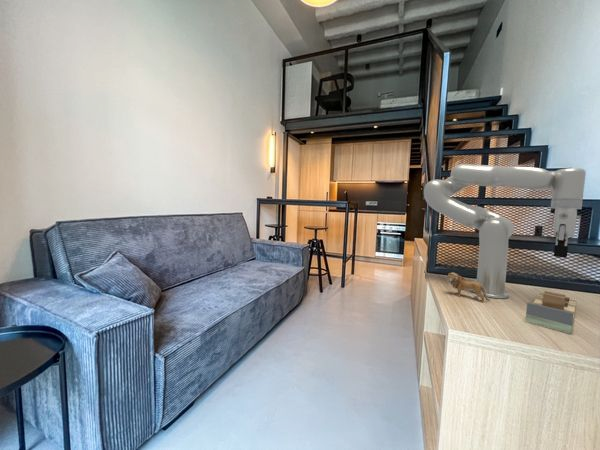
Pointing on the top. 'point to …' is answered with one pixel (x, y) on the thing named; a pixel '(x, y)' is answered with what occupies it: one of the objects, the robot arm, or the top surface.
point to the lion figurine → (466, 285)
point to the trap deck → (568, 306)
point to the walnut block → (553, 300)
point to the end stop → (550, 313)
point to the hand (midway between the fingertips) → (560, 256)
